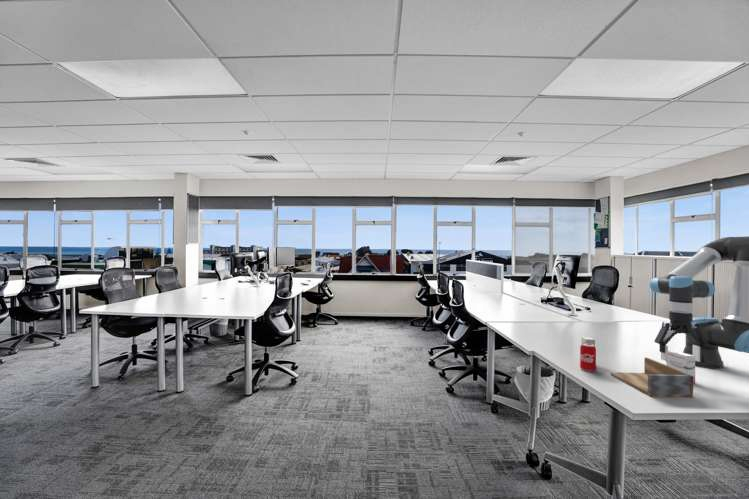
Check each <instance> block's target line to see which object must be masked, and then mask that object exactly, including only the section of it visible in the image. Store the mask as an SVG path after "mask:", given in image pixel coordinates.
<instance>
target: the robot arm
mask: <svg viewBox="0 0 749 499" xmlns="http://www.w3.org/2000/svg"><path fill="white" fill-rule="evenodd" d="M723 261H732V264H733V265H735V267H736V269H735V272H734V273H735V274H734V279H733V286H732V292H731V296H730V302H729V307H728V312H727V316H724V317H722V319H721V322H720V320H719V319H718V318H717V317H707V316H705V317H704V316H696V317H695V316H694V315H693V313H692V312H694V310H693V306H694V305H693V304H694V303H693V299H694V298H698V299H701V298H702V299H705V298H710V297H712V296H714V294H715V292H716V287H715V285H714V284H713V283H712V282H710V281H708V280H702V279H699V280H693V279H694V278H695V277H697V276H698V275H699V274H701V273H702V272H703V271H705V270H707V269H708V268H709V267H710V266H712V265H717V264H718V263H720V262H723ZM649 288H650V290H651V291H652V292H653V293H656V294H657V293H658V294H661V295H669V298H668V299H669V300H668V303H669V304H668V310H669V311H668V319H669V320H670V322H666V321H662V323H661V327H660V329H659V332H658V334H657V335H656V337H655V338H654V343H656V344H658V345H659V353H660V360H663V361H665V362H666V361H668V350H669V345H668V343H670V341H671V340H672V339H673V338H674V337H675V336H676V335H677V334H684V335H685V347H684V348H683V352H682V353H686V354H690V355H693V356H695V367H700V368H705V369H706V368H707V369H715V370H716V369H718V370H719V369H723V368H724V365H725V364H724V360H722V356H721V353H720V351H719V348H723V349H728V350H732V351H736V352H740V353H745V354H749V236H727V237H722V238H718V239H716V240H713V241H710V242H709V243H707V244H705V245H703V246H701V247H700V248H699V249H698V250H696V254H694V255H692V256H691V257H690V258H689V259H687V260H685V261H684V262H683V263H681V264H680V265H678V266H677V267H676V268H674V269H673V270H671V271H670V272H668V273H666V274H665V275H663V277H654V278H651V279H650V281H649Z"/></svg>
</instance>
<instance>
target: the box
mask: <svg viewBox="0 0 749 499" xmlns="http://www.w3.org/2000/svg"><path fill="white" fill-rule="evenodd" d="M582 343H590V344H593V345H595V346H596V339H594V338H592V337H591V336H589V337H587V336H586V337H585V336H581V344H582Z"/></svg>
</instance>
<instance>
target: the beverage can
mask: <svg viewBox="0 0 749 499" xmlns="http://www.w3.org/2000/svg"><path fill="white" fill-rule="evenodd" d="M579 350H580V351H579V367H580V369H582V371H585V372H590V373H591V372H595V371H596V370H597V348H596V344H595V345H593V344H590V343H582V342H581V345H580V346H579Z"/></svg>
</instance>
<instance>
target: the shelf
mask: <svg viewBox="0 0 749 499" xmlns="http://www.w3.org/2000/svg"><path fill="white" fill-rule="evenodd" d="M643 370H644V372H613V371H611V372H610V376H612V377H613V378H616V379H617V380H618V381H619V380H620V382H623V383H625V384H626V385H628V386H630V387H632V388H633V389H635V390H637V391H638V392H640V393H642V394H645V395H646V396H648V397H650V398H651V397H653V398H657V397H658V398H685V399H687V398H692V399H693V398H694V383H693V376H691V375H689V374H686V373H684V372H682V371H679V370H677V369H674V368H672V367H669V366H667V365H666V364H664V363H662V362H659V361H656V360H654V359H652V358H649V357H644V369H643Z"/></svg>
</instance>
